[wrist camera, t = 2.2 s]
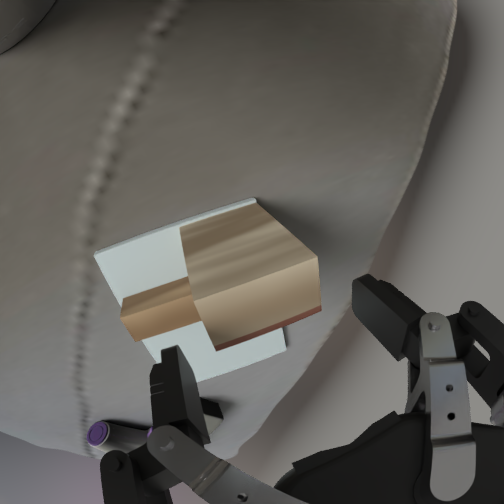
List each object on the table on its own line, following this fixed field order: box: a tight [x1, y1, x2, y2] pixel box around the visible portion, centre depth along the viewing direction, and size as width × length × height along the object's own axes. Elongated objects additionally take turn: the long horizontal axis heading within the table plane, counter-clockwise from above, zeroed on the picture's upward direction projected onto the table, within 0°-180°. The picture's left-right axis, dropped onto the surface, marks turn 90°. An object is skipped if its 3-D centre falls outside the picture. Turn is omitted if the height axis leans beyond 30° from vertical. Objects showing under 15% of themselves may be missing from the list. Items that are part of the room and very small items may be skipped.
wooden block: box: [179, 202, 322, 352], centre depth 16 cm, size 3×6×8 cm, turn 102°
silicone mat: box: [94, 198, 286, 382], centre depth 22 cm, size 16×12×1 cm
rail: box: [120, 276, 202, 342], centre depth 19 cm, size 2×7×2 cm, turn 102°
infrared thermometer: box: [87, 398, 223, 453], centre depth 26 cm, size 5×12×15 cm
